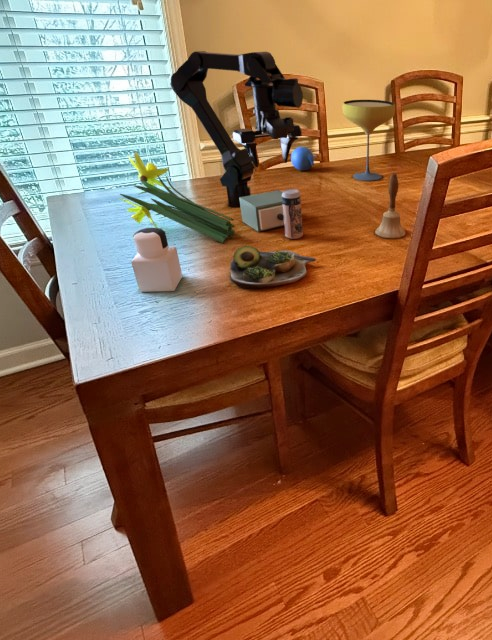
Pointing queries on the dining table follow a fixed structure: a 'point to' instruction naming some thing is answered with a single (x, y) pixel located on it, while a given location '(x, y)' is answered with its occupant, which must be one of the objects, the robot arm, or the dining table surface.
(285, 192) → the beer can
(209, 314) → the dining table surface
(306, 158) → the blue mole toy
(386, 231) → the hand bell
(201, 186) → the dining table surface
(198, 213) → the daffodil flowers
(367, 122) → the cocktail glass
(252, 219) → the drawer box
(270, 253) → the avocado toast plate
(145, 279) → the pink block figurine
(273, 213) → the drawer
